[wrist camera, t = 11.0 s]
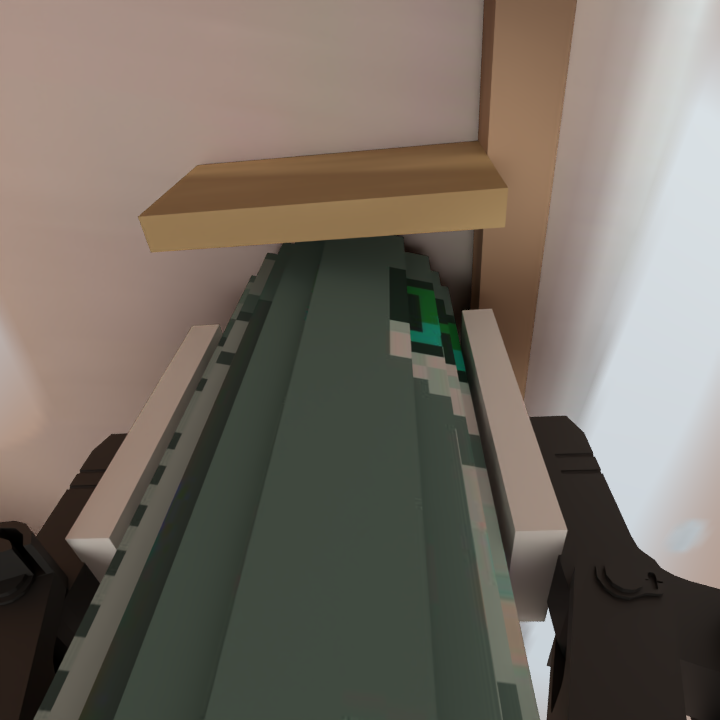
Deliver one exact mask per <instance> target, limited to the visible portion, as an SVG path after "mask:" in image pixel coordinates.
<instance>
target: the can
mask: <svg viewBox="0 0 720 720" xmlns="http://www.w3.org/2000/svg"><path fill="white" fill-rule="evenodd" d="M34 720H540V718H539V713H538V708H537V704H536V699H535V694H534V690H533V685H532V680H531V675H530V671H529V666H528V662H527V657H526V652H525V647H524V642H523V638H522V633H521V628H520V624H519V619H518V614H517V609H516V605H515V600H514V595H513V591H512V586H511V581H510V577H509V572H508V567H507V562H506V558H505V553H504V548H503V544H502V539H501V534H500V529H499V525H498V520H497V515H496V511H495V506H494V501H493V497H492V492H491V487H490V482H489V478H488V473H487V468H486V464H485V459H484V454H483V450H482V445H481V440H480V435H479V431H478V426H477V421H476V417H475V412H474V407H473V402H472V398H471V393H470V388H469V384H468V379H467V374H466V370H465V365H464V360H463V355H462V351H461V346H460V341H459V337H458V332H457V327H456V323H455V318H454V313H453V308H452V304H451V299H450V294H449V290H448V287H445V286H441V284H440V278H439V273H438V272H436V271H431V270H430V264H429V258H428V256H424V255H419V254H413V253H408V252H404V238H403V237H399V236H394V235H389V236H375V237H360V238H346V239H332V240H318V241H304V242H295V244H291V243H283V244H282V246H281V249H280V251H279V253H278V254H272V253H267V255H266V257H265V260H264V262H263V264H262V266H261V268H260V270H259V272H258V274H257V276H251V278H250V280H249V282H248V284H247V286H246V288H245V290H244V292H243V294H242V297H241V299H240V301H239V303H238V305H237V307H236V309H235V311H234V313H233V315H232V317H231V319H230V321H229V323H228V325H227V327H226V329H225V331H224V333H223V335H222V337H221V339H220V341H219V343H218V345H217V347H216V349H215V351H214V353H213V355H212V358H211V360H210V362H209V364H208V366H207V368H206V370H205V372H204V374H203V376H202V378H201V380H200V382H199V384H198V386H197V388H196V390H195V392H194V394H193V396H192V398H191V400H190V402H189V404H188V406H187V408H186V410H185V412H184V414H183V417H182V419H181V421H180V423H179V425H178V427H177V429H176V431H175V433H174V435H173V437H172V439H171V441H170V443H169V445H168V447H167V449H166V451H165V453H164V455H163V457H162V459H161V461H160V463H159V465H158V467H157V469H156V471H155V473H154V475H153V478H152V480H151V482H150V484H149V486H148V488H147V490H146V492H145V494H144V496H143V498H142V500H141V502H140V504H139V506H138V508H137V510H136V512H135V514H134V516H133V518H132V520H131V522H130V524H129V526H128V528H127V530H126V532H125V534H124V536H123V539H122V541H121V543H120V545H119V547H118V549H117V551H116V553H115V555H114V557H113V559H112V561H111V563H110V565H109V567H108V569H107V571H106V573H105V575H104V577H103V579H102V581H101V583H100V585H99V587H98V589H97V591H96V593H95V595H94V597H93V600H92V602H91V604H90V606H89V608H88V610H87V612H86V614H85V616H84V618H83V620H82V622H81V624H80V626H79V628H78V630H77V632H76V634H75V636H74V638H73V640H72V642H71V644H70V646H69V648H68V650H67V652H66V654H65V656H64V659H63V661H62V663H61V665H60V667H59V669H58V671H57V673H56V675H55V677H54V679H53V681H52V683H51V685H50V687H49V689H48V691H47V693H46V695H45V697H44V699H43V701H42V703H41V705H40V707H39V709H38V711H37V713H36V715H35V717H34Z"/></svg>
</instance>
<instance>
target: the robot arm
mask: <svg viewBox="0 0 720 720" xmlns="http://www.w3.org/2000/svg"><path fill="white" fill-rule="evenodd" d="M222 335H223V334H222V331H221V328H220V324H216V325H199V326H192V327H191V329H190V331H189V332H188V334H187V336H186V337H185V339H184V341H183V342H182V344H181V346H180V347H179V349H178V351H177V352H176V354H175V356H174V357H173V359H172V361H171V362H170V364H169V366H168V368H167V369H166V371H165V373H164V374H163V376H162V378H161V379H160V381H159V383H158V384H157V386H156V388H155V389H154V391H153V393H152V394H151V396H150V398H149V399H148V401H147V403H146V404H145V406H144V408H143V409H142V411H141V413H140V414H139V416H138V418H137V419H136V421H135V423H134V424H133V426H132V428H131V429H130V431H129V433H128V434H111V435H110V436H109V437H108V438H107V439H106V440H104V441H103V442H102V443H101V444H100V445H99V446H97V447H96V448H95V449H94V450H93V451H92V452H91V454H90V455H89V457H88V458H87V460H86V461H85V463H84V464H83V466H82V468H81V469H80V474H77V475H76V477H75V478H74V480H73V481H72V483H71V484H70V489H69V490H66V492H65V494H64V495H63V497H62V498H61V500H60V501H59V503H58V504H57V506H56V507H55V509H54V510H53V512H52V513H51V515H50V516H49V518H48V520H47V521H46V523H45V524H44V526H43V527H42V529H41V530H40V532H39V533H38V535H37V536H35V535H34V534H33V532H32V531H31V530H30V529H29V527H28V526H27V525H26V524H24V523H20V522H17V521H10V522H2V523H0V720H34V717H35V715H36V713H37V711H38V709H39V707H40V705H41V703H42V701H43V699H44V697H45V695H46V693H47V691H48V689H49V687H50V685H51V683H52V681H53V679H54V677H55V675H56V673H57V671H58V669H59V667H60V665H61V663H62V661H63V659H64V656H65V654H66V652H67V650H68V648H69V646H70V644H71V642H72V640H73V638H74V636H75V634H76V632H77V630H78V628H79V626H80V624H81V622H82V620H83V618H84V616H85V614H86V612H87V610H88V608H89V606H90V604H91V602H92V600H93V597H94V595H95V593H96V591H97V589H98V587H99V585H100V583H101V581H102V579H103V577H104V575H105V573H106V571H107V569H108V567H109V565H110V563H111V561H112V559H113V557H114V555H115V553H116V551H117V549H118V547H119V545H120V543H121V541H122V539H123V536H124V534H125V532H126V530H127V528H128V526H129V524H130V522H131V520H132V518H133V516H134V514H135V512H136V510H137V508H138V506H139V504H140V502H141V500H142V498H143V496H144V494H145V492H146V490H147V488H148V486H149V484H150V482H151V480H152V478H153V475H154V473H155V471H156V469H157V467H158V465H159V463H160V461H161V459H162V457H163V455H164V453H165V451H166V449H167V447H168V445H169V443H170V441H171V439H172V437H173V435H174V433H175V431H176V429H177V427H178V425H179V423H180V421H181V419H182V417H183V414H184V412H185V410H186V408H187V406H188V404H189V402H190V400H191V398H192V396H193V394H194V392H195V390H196V388H197V386H198V384H199V382H200V380H201V378H202V376H203V374H204V372H205V370H206V368H207V366H208V364H209V362H210V360H211V358H212V355H213V353H214V351H215V349H216V347H217V345H218V343H219V341H220V339H221V337H222ZM461 351H462V355H463V360H464V365H465V370H466V374H467V379H468V384H469V388H470V393H471V398H472V402H473V407H474V412H475V417H476V421H477V426H478V431H479V435H480V440H481V445H482V450H483V454H484V459H485V464H486V468H487V473H488V478H489V482H490V487H491V492H492V497H493V501H494V506H495V511H496V515H497V520H498V525H499V529H500V534H501V539H502V544H503V548H504V553H505V558H506V562H507V567H508V572H509V577H510V581H511V586H512V591H513V595H514V600H515V605H516V609H517V614H518V619H519V621H545V618H546V614H547V610H548V608H549V612H550V616H551V619H552V623H553V626H554V631H555V638H554V642H553V645H552V649H551V652H550V655H549V659H548V663H547V666H550V667H551V670H550V683H549V696H548V710H547V720H687V719H686V715H687V716H690V717H691V720H720V589H717V588H713V587H709V586H706V585H702V584H698V583H694V582H691V581H688V580H685V579H682V578H680V577H677V576H674V575H673V574H671V573H669V572H667V571H665V570H664V569H662V568H660V566H659V565H658V564H657V562H656V561H655V560H654V559H652V558H651V557H650V556H648V555H647V554H645V553H644V552H643V551H641V550H640V549H639V548H638V547H637V545H636V543H635V542H634V540H633V538H632V537H631V535H630V533H629V530H628V528H627V526H626V524H625V522H624V519H623V517H622V515H621V513H620V511H619V508H618V506H617V504H616V502H615V500H614V497H613V495H612V493H611V491H610V489H609V487H608V484H607V482H606V480H605V478H604V475H603V474H601V472H600V471H601V469H600V467H599V465H598V463H597V460H596V458H595V457H593V451H592V450H591V447H590V445H589V443H588V440H587V438H586V436H585V434H584V432H583V431H582V430H581V429H580V428H578V427H577V426H576V425H575V424H574V423H573V422H572V421H571V420H570V419H569V418H568V417H567V416H545V417H529V416H528V413H527V410H526V407H525V404H524V401H523V398H522V395H521V392H520V389H519V387H518V384H517V381H516V378H515V375H514V372H513V369H512V366H511V363H510V360H509V357H508V354H507V351H506V348H505V346H504V343H503V340H502V337H501V334H500V331H499V328H498V325H497V322H496V319H495V316H494V313H493V310H492V309H478V310H462V327H461Z"/></svg>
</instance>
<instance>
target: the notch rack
mask: <svg viewBox="0 0 720 720" xmlns="http://www.w3.org/2000/svg"><path fill="white" fill-rule="evenodd" d="M576 4H577V0H484V18H483V40H482V63H481V86H480V108H479V131H478V141H471V142H459V143H448V144H436V145H425V146H414V147H402V148H391V149H379V150H368V151H356V152H345V153H333V154H322V155H310V156H299V157H287V158H276V159H264V160H253V161H241V162H230V163H218V164H207V165H197V166H196V167H195V168H194V169H193V170H191V171H190V172H189V173H188V174H187V175H186V176H185V177H183V178H182V179H181V180H180V181H179V182H178V183H176V184H175V185H174V186H173V187H172V188H171V189H170V190H168V191H167V192H166V193H165V194H164V195H163V196H161V197H160V198H159V199H158V200H157V201H156V202H155V203H153V204H152V205H151V206H150V207H149V208H148V209H146V210H145V211H144V212H143V213H142V214H141V215H140V216H138V218H139V221H140V223H141V226H142V229H143V232H144V234H145V237H146V240H147V243H148V245H149V248H150V251H151V252H163V251H177V250H192V249H206V248H220V247H234V246H248V245H262V244H276V243H290V242H304V241H318V240H332V239H346V238H360V237H375V236H389V235H403V234H417V233H431V232H445V231H459V230H473V229H474V244H473V267H472V289H471V310H478V309H492V310H493V313H494V316H495V319H496V322H497V325H498V328H499V331H500V334H501V337H502V340H503V343H504V346H505V348H506V351H507V354H508V357H509V360H510V363H511V366H512V369H513V372H514V375H515V378H516V381H517V384H518V387H519V389H520V392H521V395H522V398H523V401H524V395H525V387H526V380H527V372H528V365H529V357H530V349H531V342H532V334H533V327H534V319H535V312H536V304H537V297H538V289H539V282H540V274H541V267H542V259H543V252H544V244H545V237H546V229H547V222H548V214H549V207H550V199H551V192H552V184H553V177H554V169H555V162H556V154H557V147H558V139H559V132H560V124H561V117H562V109H563V102H564V94H565V86H566V79H567V71H568V64H569V56H570V49H571V41H572V34H573V26H574V19H575V11H576Z"/></svg>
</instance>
